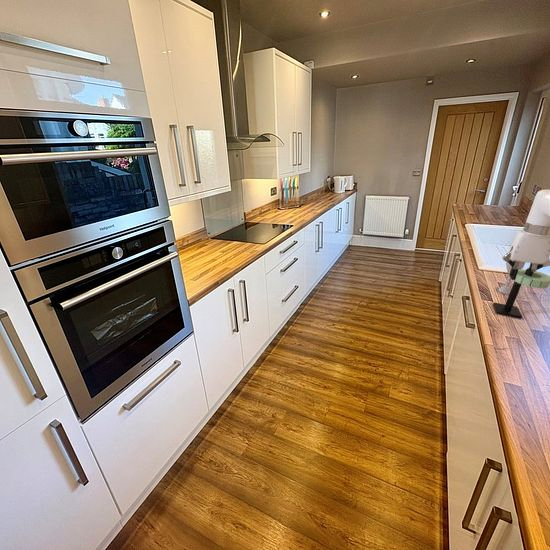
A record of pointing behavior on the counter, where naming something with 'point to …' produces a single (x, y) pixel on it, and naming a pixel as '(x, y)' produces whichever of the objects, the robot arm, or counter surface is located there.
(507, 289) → the chalice
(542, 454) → the counter surface
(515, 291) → the post
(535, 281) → the ring
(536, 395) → the counter surface
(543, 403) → the counter surface
